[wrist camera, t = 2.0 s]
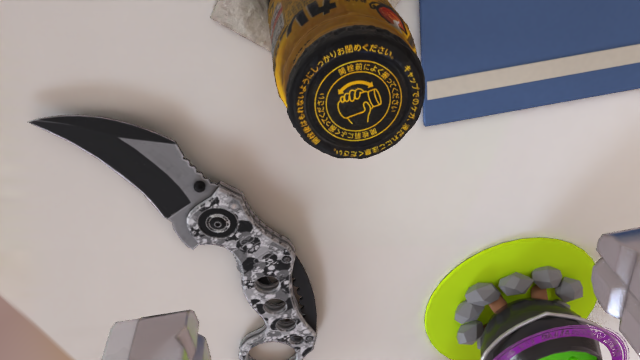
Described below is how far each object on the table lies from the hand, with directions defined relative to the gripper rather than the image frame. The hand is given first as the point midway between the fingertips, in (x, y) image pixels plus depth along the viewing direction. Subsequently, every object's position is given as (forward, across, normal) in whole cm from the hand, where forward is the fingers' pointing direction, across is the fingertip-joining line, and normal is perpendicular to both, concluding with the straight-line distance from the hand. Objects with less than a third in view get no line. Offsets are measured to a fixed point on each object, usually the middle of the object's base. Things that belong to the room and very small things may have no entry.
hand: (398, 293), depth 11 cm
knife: (+22, +9, +16) cm, 29 cm away
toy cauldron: (+22, -13, +28) cm, 38 cm away
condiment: (+22, 0, 0) cm, 22 cm away
